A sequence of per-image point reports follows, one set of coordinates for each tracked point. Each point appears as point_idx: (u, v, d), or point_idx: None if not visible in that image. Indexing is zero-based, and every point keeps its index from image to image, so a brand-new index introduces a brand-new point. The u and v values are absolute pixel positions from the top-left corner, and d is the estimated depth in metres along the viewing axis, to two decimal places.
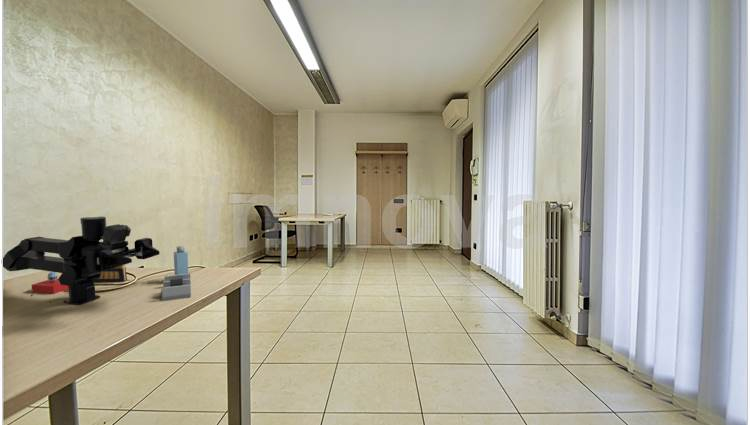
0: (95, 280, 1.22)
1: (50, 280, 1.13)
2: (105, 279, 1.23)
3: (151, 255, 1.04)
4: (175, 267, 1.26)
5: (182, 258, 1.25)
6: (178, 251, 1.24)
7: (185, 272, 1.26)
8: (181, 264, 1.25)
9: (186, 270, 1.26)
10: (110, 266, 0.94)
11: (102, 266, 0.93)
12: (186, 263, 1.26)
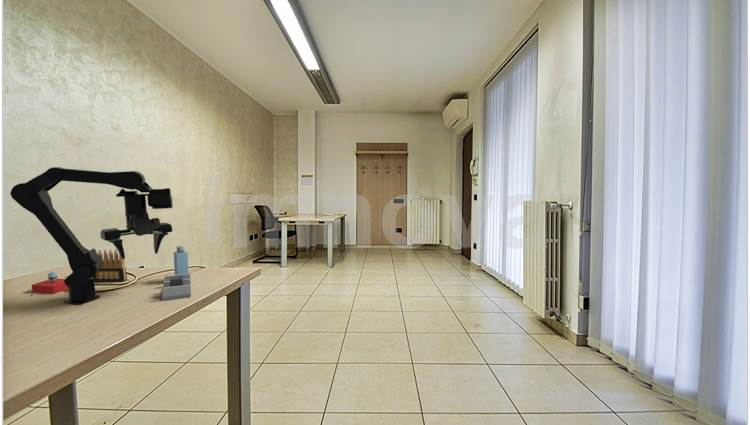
0: (95, 280, 1.22)
1: (50, 280, 1.13)
2: (105, 279, 1.23)
3: (154, 244, 1.16)
4: (175, 267, 1.26)
5: (182, 258, 1.25)
6: (178, 251, 1.24)
7: (185, 272, 1.26)
8: (181, 264, 1.25)
9: (186, 270, 1.26)
10: (113, 243, 1.07)
11: None
12: (186, 263, 1.26)
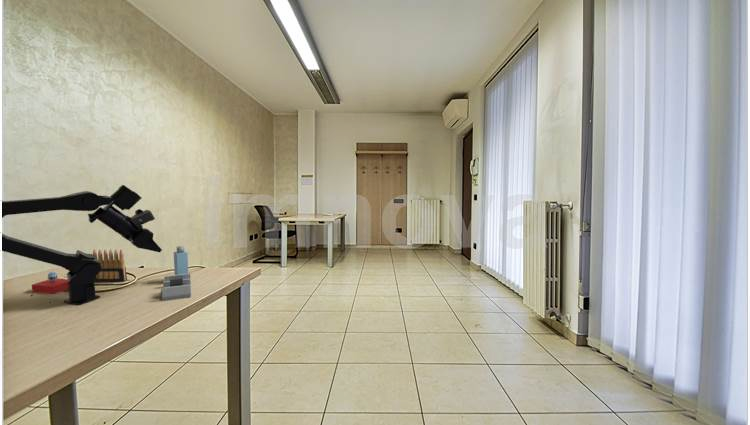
0: (95, 280, 1.22)
1: (50, 280, 1.13)
2: (105, 279, 1.23)
3: None
4: (175, 267, 1.26)
5: (182, 258, 1.25)
6: (178, 251, 1.24)
7: (185, 272, 1.26)
8: (181, 264, 1.25)
9: (186, 270, 1.26)
10: (145, 247, 1.12)
11: None
12: (186, 263, 1.26)
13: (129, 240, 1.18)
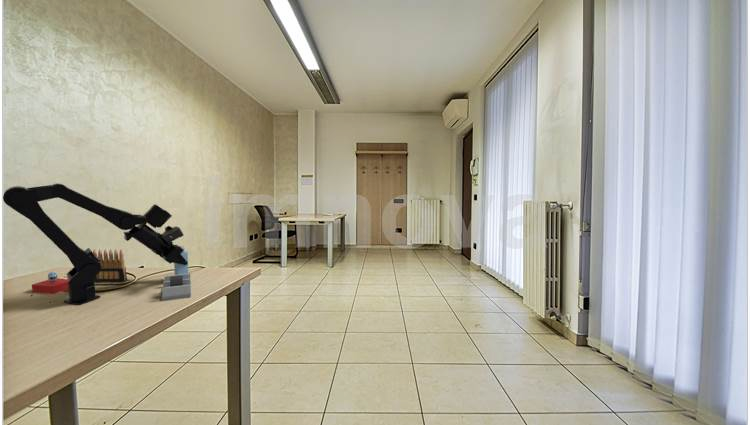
0: (95, 280, 1.22)
1: (50, 280, 1.13)
2: (105, 279, 1.23)
3: None
4: (175, 267, 1.26)
5: None
6: None
7: (185, 272, 1.26)
8: (181, 264, 1.25)
9: (186, 270, 1.26)
10: (173, 260, 1.21)
11: None
12: None
13: (161, 256, 1.24)
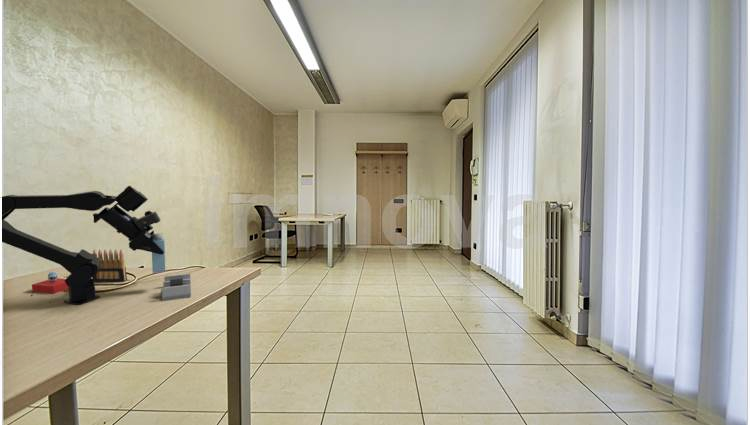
0: (95, 280, 1.22)
1: (50, 280, 1.13)
2: (105, 279, 1.23)
3: None
4: None
5: None
6: (154, 238, 1.14)
7: (161, 263, 1.14)
8: (156, 253, 1.13)
9: (162, 260, 1.15)
10: (144, 248, 1.10)
11: (141, 246, 1.08)
12: None
13: None
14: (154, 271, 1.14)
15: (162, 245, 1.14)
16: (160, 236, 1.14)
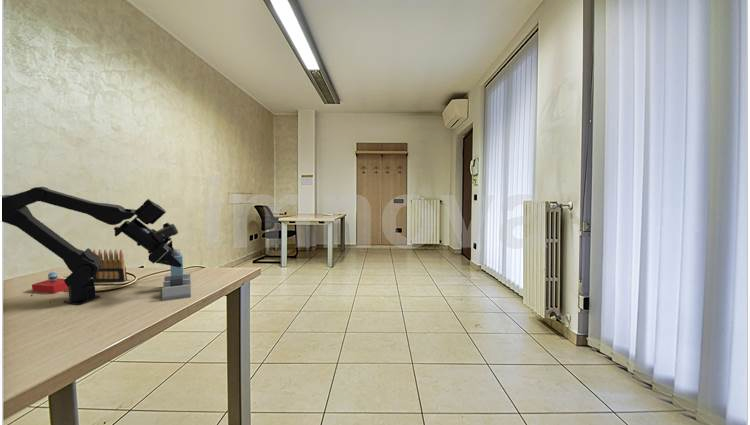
0: (95, 280, 1.22)
1: (50, 280, 1.13)
2: (105, 279, 1.23)
3: None
4: None
5: None
6: (173, 254, 1.16)
7: None
8: (175, 268, 1.16)
9: (181, 275, 1.17)
10: (163, 262, 1.10)
11: None
12: (181, 268, 1.17)
13: None
14: None
15: (180, 261, 1.16)
16: (178, 252, 1.17)
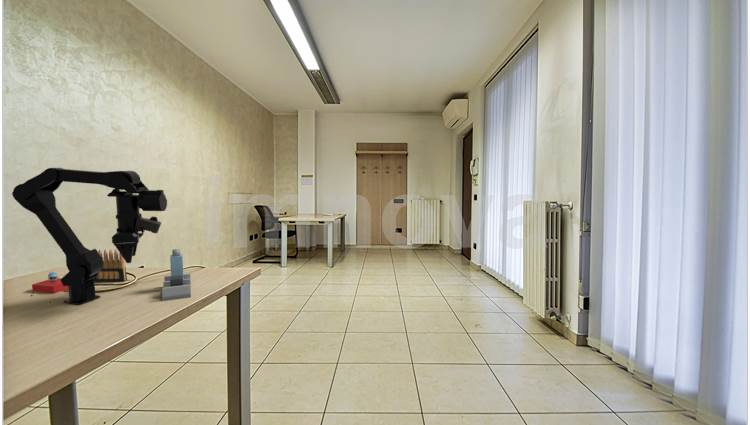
0: (95, 280, 1.22)
1: (50, 280, 1.13)
2: (105, 279, 1.23)
3: None
4: None
5: (176, 262, 1.16)
6: (173, 254, 1.16)
7: None
8: (175, 268, 1.16)
9: (181, 275, 1.17)
10: (119, 248, 1.00)
11: (119, 244, 0.99)
12: (181, 268, 1.17)
13: None
14: None
15: (180, 261, 1.16)
16: (178, 252, 1.17)
